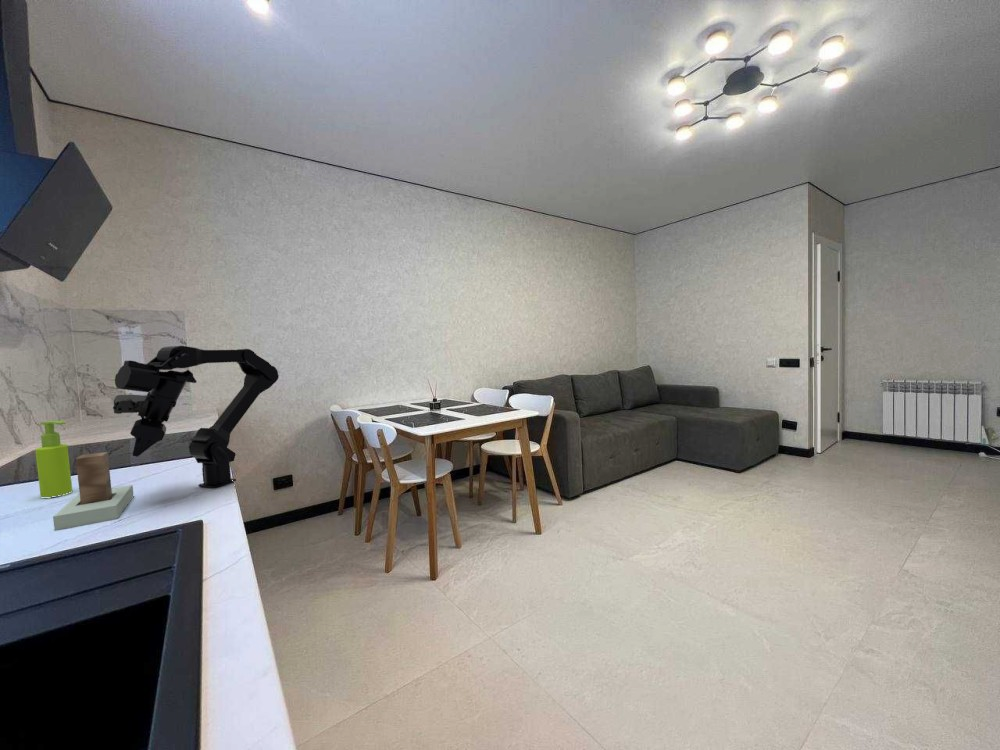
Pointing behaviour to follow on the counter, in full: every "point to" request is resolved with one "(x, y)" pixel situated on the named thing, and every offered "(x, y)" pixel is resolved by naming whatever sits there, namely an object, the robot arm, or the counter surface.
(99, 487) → the walnut post
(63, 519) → the sage rectangular frame
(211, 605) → the counter surface
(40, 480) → the soap dispenser
